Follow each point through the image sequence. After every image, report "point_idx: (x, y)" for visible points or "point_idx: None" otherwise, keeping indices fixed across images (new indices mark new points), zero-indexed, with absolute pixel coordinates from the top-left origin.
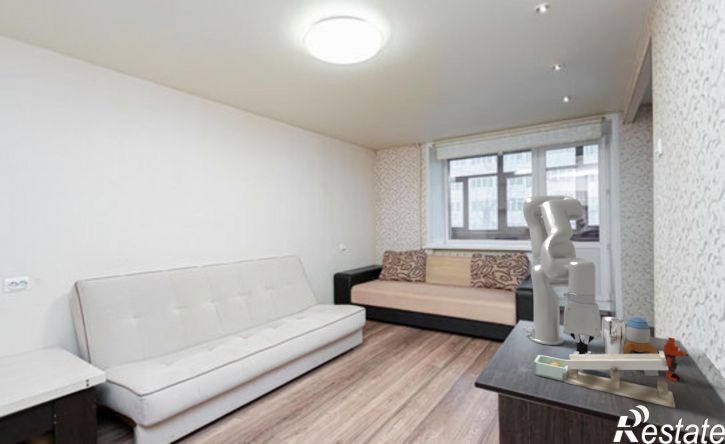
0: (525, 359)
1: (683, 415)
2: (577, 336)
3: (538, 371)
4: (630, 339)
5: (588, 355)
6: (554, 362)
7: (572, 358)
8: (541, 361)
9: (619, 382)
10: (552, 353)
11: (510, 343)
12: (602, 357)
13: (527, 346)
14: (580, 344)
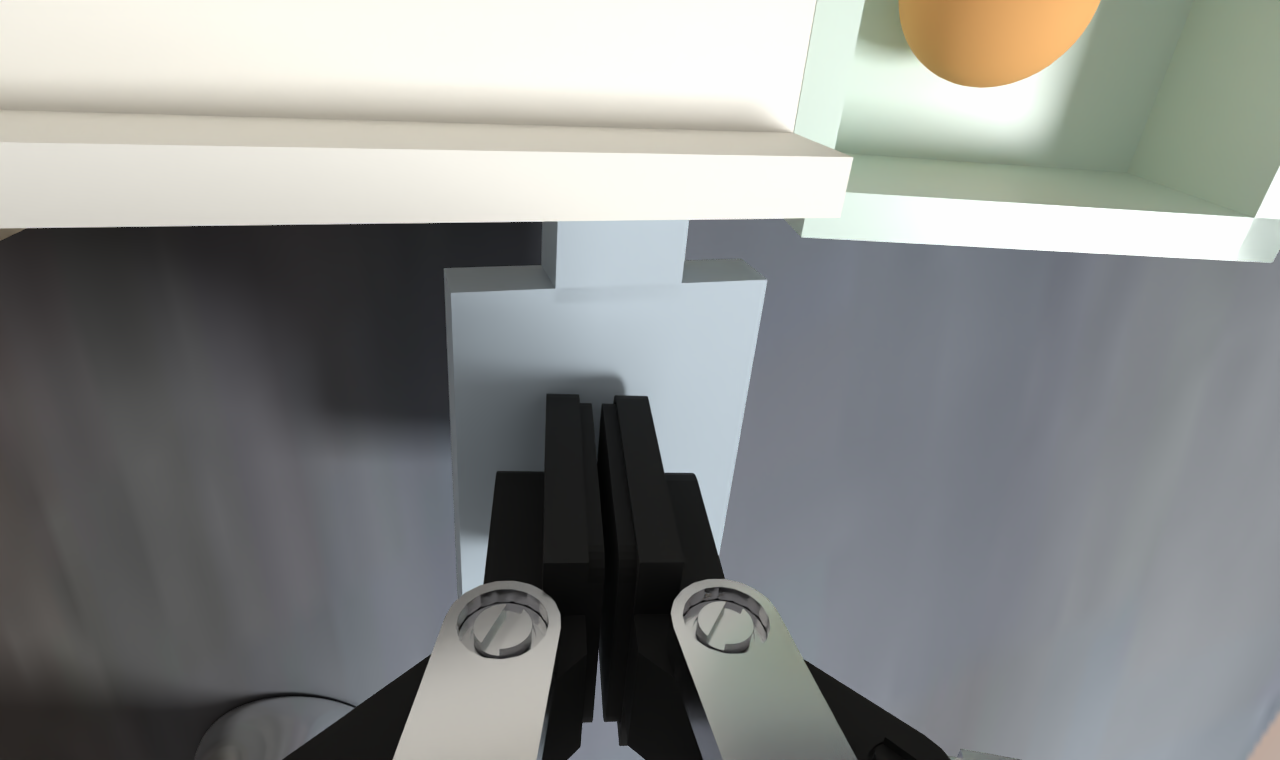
0: (1241, 354)
1: None
2: (757, 737)
3: None
4: None
5: (425, 145)
6: (1063, 20)
7: (771, 138)
8: (1166, 188)
9: None
10: (886, 670)
11: (1272, 702)
12: (49, 132)
13: (1112, 713)
14: (640, 539)
